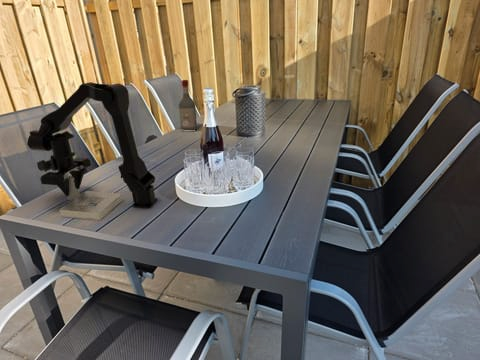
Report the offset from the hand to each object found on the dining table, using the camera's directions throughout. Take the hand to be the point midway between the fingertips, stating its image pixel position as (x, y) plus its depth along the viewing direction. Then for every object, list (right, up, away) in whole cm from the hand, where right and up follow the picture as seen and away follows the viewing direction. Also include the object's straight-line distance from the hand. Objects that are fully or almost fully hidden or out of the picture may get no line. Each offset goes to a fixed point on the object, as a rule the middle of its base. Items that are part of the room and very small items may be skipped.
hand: (72, 192), depth 115 cm
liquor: (+28, +36, +85) cm, 97 cm away
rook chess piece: (0, -2, +1) cm, 2 cm away
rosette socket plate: (+11, -5, -7) cm, 14 cm away
